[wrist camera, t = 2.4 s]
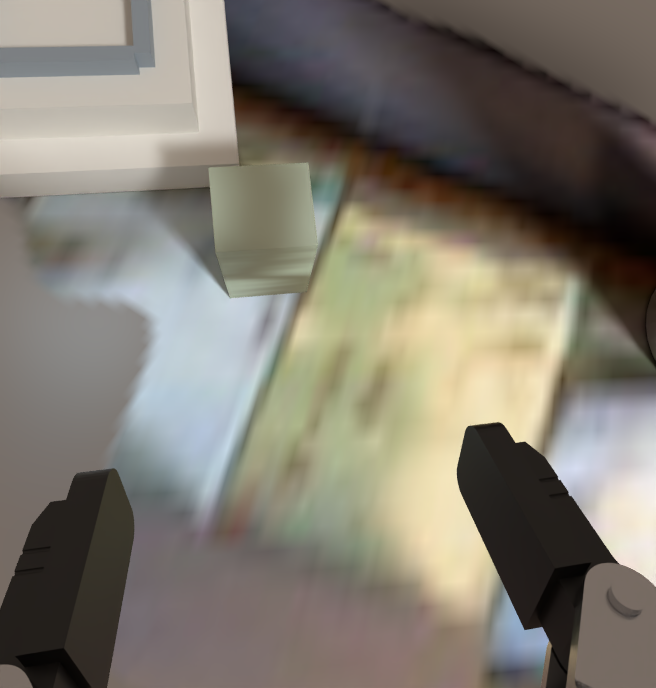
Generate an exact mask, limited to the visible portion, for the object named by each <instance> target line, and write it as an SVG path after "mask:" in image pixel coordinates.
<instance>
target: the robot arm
mask: <svg viewBox="0 0 656 688" xmlns="http://www.w3.org/2000/svg"><path fill="white" fill-rule="evenodd" d="M646 330H647V338H648V342H649V345H650V348H651V351H652V355H653V357H654V358H655V360H656V290H655V291H654V293H653V295H652V297H651V299H650V302H649V306H648V309H647V318H646ZM457 480H458V485H459V489H460V492H461V494H462V497H463V499H464V501H465V503H466V505H467V507H468V509H469V512H470V514H471V516H472V518H473V520H474V522H475V524H476V527H477V529H478V531H479V533H480V535H481V537H482V540H483V542H484V544H485V546H486V548H487V550H488V552H489V555H490V557H491V559H492V561H493V563H494V565H495V567H496V570H497V572H498V574H499V576H500V578H501V580H502V582H503V585H504V587H505V589H506V591H507V593H508V595H509V598H510V600H511V602H512V604H513V606H514V608H515V610H516V613H517V615H518V617H519V619H520V621H521V623H522V625H523V628H524V630H528V629H533V628H539V627H543V629H544V631H545V633H546V635H547V637H548V639H549V642H548V645H547V650H546V656H545V663H544V670H543V676H542V683H541V688H656V587H655V586H654V585H653V584H652V583H651V582H650V581H649V580H648V579H646V578H645V577H644V576H643V575H641V574H640V573H638V572H636V571H635V570H633V569H631V568H628V567H626V566H623V565H620V564H619V563H618V562H617V561H616V560H615V559H614V557H613V556H612V555H611V553H610V552H609V550H608V549H607V547H606V546H605V545H604V543H603V542H602V540H601V539H600V537H599V536H598V534H597V533H596V531H595V530H594V528H593V527H592V526H591V524H590V523H589V521H588V520H587V518H586V517H585V515H584V514H583V512H582V511H581V510H580V508H579V507H578V505H577V504H576V502H575V501H574V499H573V498H572V496H569V494H568V491H567V489H566V488H565V486H564V485H563V483H562V482H561V480H558V476H557V474H556V473H555V472H554V470H553V469H552V467H551V466H550V464H549V463H548V461H547V460H546V458H545V457H544V456H543V455H541V454H540V453H539V452H537V451H536V450H535V449H534V448H532V447H531V446H530V445H529V444H527V443H526V442H519V443H515V441H514V440H513V438H512V437H511V435H510V434H509V432H508V431H507V429H506V428H505V426H504V425H503V424H501V423H499V422H497V423H488V424H480V425H472V426H468V427H467V428H466V431H465V435H464V439H463V444H462V448H461V453H460V457H459V461H458V466H457ZM133 539H134V516H133V511H132V508H131V506H130V503H129V500H128V498H127V495H126V492H125V490H124V487H123V485H122V482H121V479H120V477H119V474H118V472H117V470H116V469H114V468H113V469H105V470H97V471H89V472H81V473H77V474H76V475H75V476H74V478H73V481H72V484H71V486H70V490H69V493H68V496H67V499H66V500H62V501H54V502H50V503H49V505H48V506H47V507H46V508H45V510H44V511H43V512H42V513H41V514H40V516H39V517H38V518H37V519H36V521H35V522H34V523H33V524H32V526H31V529H30V532H29V534H28V537H27V539H26V542H25V545H24V548H23V554H22V555H21V556H20V558H19V561H18V563H17V566H16V569H15V576H13V577H12V579H11V582H10V584H9V587H8V590H7V592H6V595H5V598H4V600H3V603H2V606H1V608H0V688H107V684H108V679H109V673H110V668H111V662H112V656H113V651H114V645H115V640H116V634H117V629H118V623H119V617H120V612H121V606H122V601H123V595H124V590H125V584H126V578H127V573H128V567H129V562H130V556H131V550H132V545H133Z"/></svg>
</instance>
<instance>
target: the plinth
mask: <svg viewBox="0 0 656 688" xmlns="http://www.w3.org/2000/svg"><path fill="white" fill-rule="evenodd" d="M228 166H239V155H238V145H237V134H236V123H235V112H234V102H233V91H232V80H231V70H230V59H229V48H228V37H227V27H226V16H225V5H224V0H0V198H11V197H30V196H49V195H69V194H88V193H107V192H126V191H145V190H165V189H184V188H203V187H210V182H209V170H208V167H228Z"/></svg>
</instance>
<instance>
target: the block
mask: <svg viewBox="0 0 656 688" xmlns="http://www.w3.org/2000/svg"><path fill="white" fill-rule="evenodd" d="M208 170H209V182H210V194H211V206H212V218H213V230H214V242H215V253H216V256H217V259H218V262H219V265H220V268H221V272H222V275H223V278H224V281H225V284H226V287H227V290H228V293H229V296H230V298H239V297H251V296H263V295H275V294H287V293H300V292H307V288H308V284H309V280H310V276H311V271H312V267H313V263H314V259H315V255H316V251H317V247H318V242H317V234H316V225H315V217H314V208H313V200H312V191H311V183H310V174H309V166H308V163H291V164H270V165H249V166H228V167H208Z"/></svg>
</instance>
